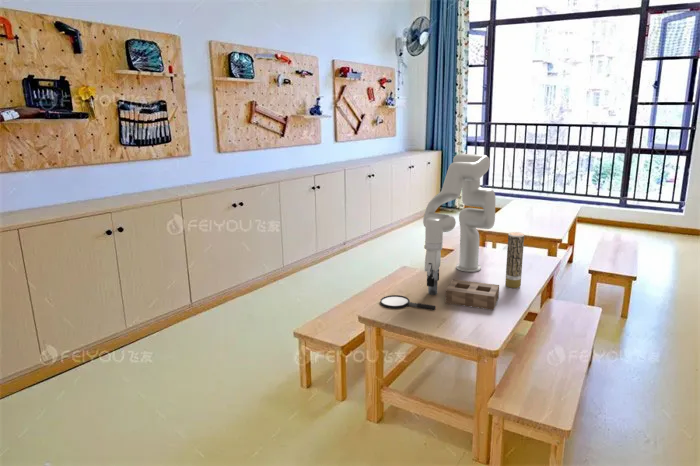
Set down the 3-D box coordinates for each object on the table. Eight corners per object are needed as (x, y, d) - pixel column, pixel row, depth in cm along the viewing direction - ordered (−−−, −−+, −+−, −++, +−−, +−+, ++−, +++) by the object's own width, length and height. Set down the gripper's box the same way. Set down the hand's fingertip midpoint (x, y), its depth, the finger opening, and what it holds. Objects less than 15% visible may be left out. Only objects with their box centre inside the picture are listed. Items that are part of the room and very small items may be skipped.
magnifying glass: (430, 316, 196) (430, 311, 195) (375, 307, 206) (375, 302, 206) (439, 305, 206) (439, 300, 206) (387, 297, 217) (387, 292, 217)
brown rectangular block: (452, 291, 220) (453, 279, 218) (498, 297, 211) (499, 285, 210) (445, 303, 207) (445, 289, 206) (493, 310, 199) (494, 296, 198)
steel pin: (429, 291, 221) (430, 266, 218) (438, 292, 219) (438, 267, 216) (427, 294, 218) (427, 268, 215) (435, 295, 216) (436, 269, 213)
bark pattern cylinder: (521, 289, 221) (525, 236, 215) (505, 288, 222) (509, 235, 216) (519, 283, 227) (523, 232, 221) (504, 283, 229) (507, 231, 222)
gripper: (430, 239, 222) (430, 276, 226) (419, 249, 207) (419, 288, 211) (447, 241, 219) (445, 278, 223) (437, 251, 204) (436, 291, 208)
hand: (432, 283), depth 217 cm, fingers open, 7 cm apart
